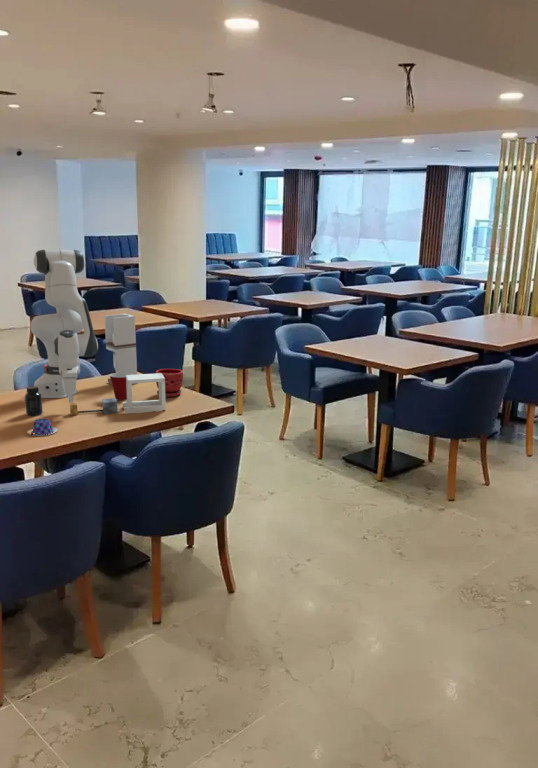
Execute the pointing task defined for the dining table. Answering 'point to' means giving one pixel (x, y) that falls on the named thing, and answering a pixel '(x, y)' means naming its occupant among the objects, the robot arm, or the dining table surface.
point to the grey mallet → (108, 407)
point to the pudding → (42, 427)
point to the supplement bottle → (33, 401)
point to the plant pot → (171, 386)
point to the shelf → (144, 405)
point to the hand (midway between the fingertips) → (71, 399)
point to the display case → (122, 342)
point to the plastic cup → (119, 385)
